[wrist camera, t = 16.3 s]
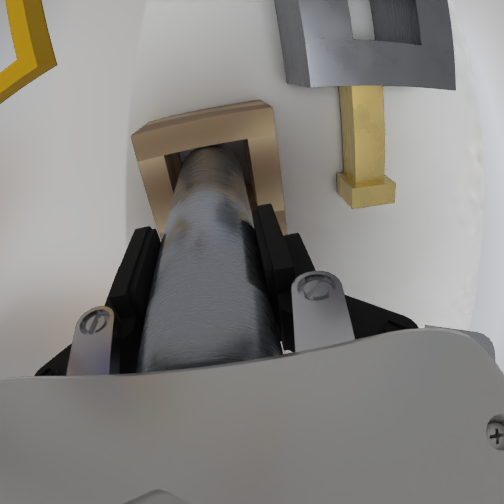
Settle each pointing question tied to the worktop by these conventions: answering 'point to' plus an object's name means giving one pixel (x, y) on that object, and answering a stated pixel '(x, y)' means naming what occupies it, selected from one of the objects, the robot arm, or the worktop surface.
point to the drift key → (363, 148)
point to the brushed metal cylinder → (208, 274)
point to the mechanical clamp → (26, 46)
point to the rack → (205, 134)
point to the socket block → (367, 44)
